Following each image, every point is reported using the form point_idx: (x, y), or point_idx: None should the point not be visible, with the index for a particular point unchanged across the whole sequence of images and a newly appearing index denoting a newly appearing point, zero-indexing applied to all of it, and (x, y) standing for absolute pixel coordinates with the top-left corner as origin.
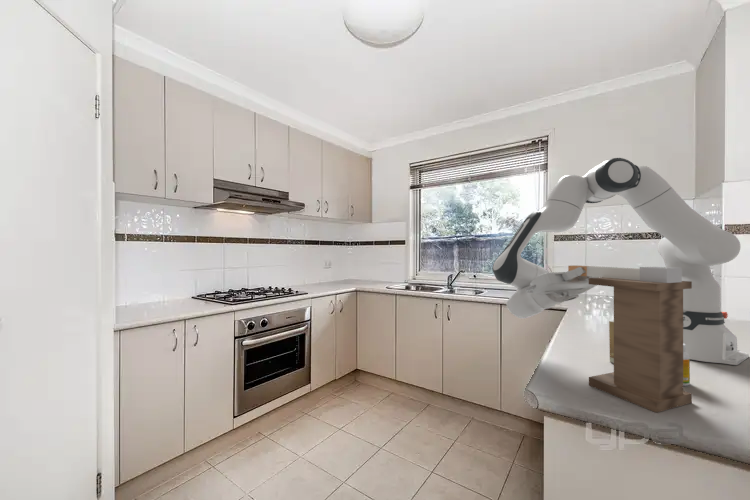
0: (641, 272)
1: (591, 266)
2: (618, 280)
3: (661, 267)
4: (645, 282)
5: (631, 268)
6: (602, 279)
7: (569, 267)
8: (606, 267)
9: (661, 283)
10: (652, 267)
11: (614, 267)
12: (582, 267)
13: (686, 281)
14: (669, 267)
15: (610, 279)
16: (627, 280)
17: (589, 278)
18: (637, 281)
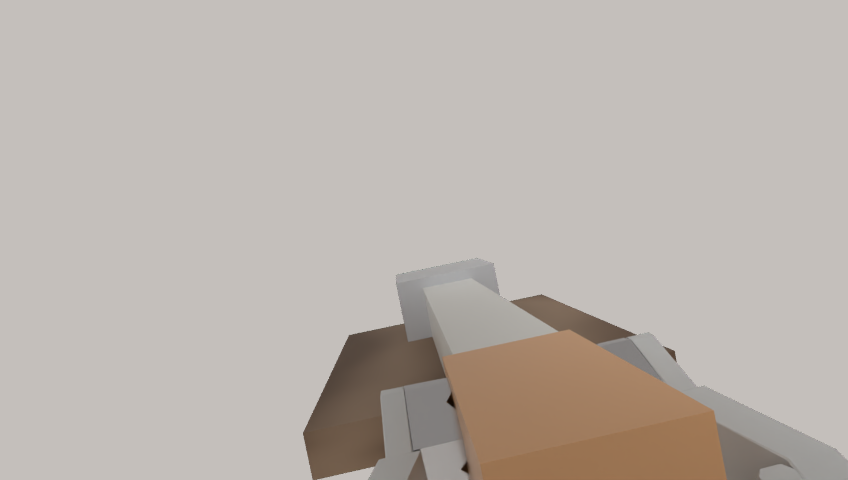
0: (496, 284)
1: (507, 337)
2: (588, 314)
3: (433, 271)
4: (542, 302)
5: (460, 288)
6: (624, 332)
7: (704, 435)
8: (506, 301)
9: (515, 300)
10: (465, 265)
11: (456, 307)
12: (601, 343)
13: (363, 333)
14: (406, 275)
15: (591, 328)
16: (544, 320)
17: (670, 352)
18: (539, 310)
